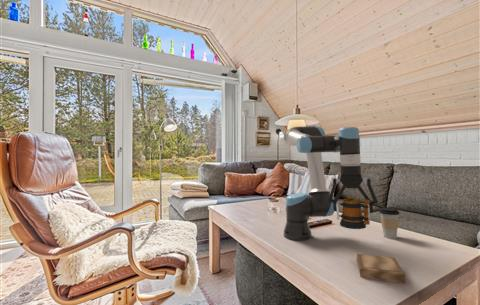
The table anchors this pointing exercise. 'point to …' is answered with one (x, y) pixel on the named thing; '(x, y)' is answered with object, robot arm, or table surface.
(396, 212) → the coffee cup
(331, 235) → the table surface
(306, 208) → the robot arm
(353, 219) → the mug
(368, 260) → the base
